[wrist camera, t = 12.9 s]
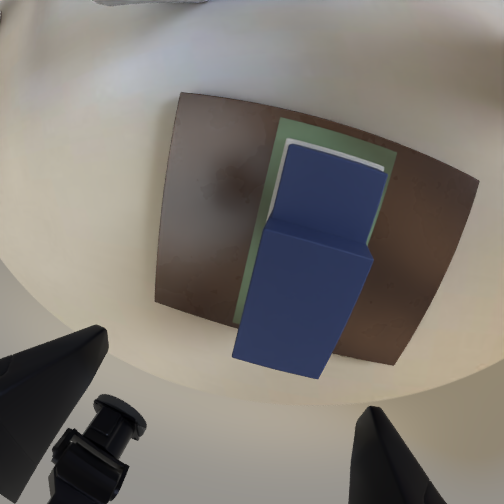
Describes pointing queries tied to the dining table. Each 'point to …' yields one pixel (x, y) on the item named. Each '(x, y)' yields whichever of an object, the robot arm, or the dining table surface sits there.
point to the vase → (140, 1)
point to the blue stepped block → (309, 259)
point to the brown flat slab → (257, 207)
